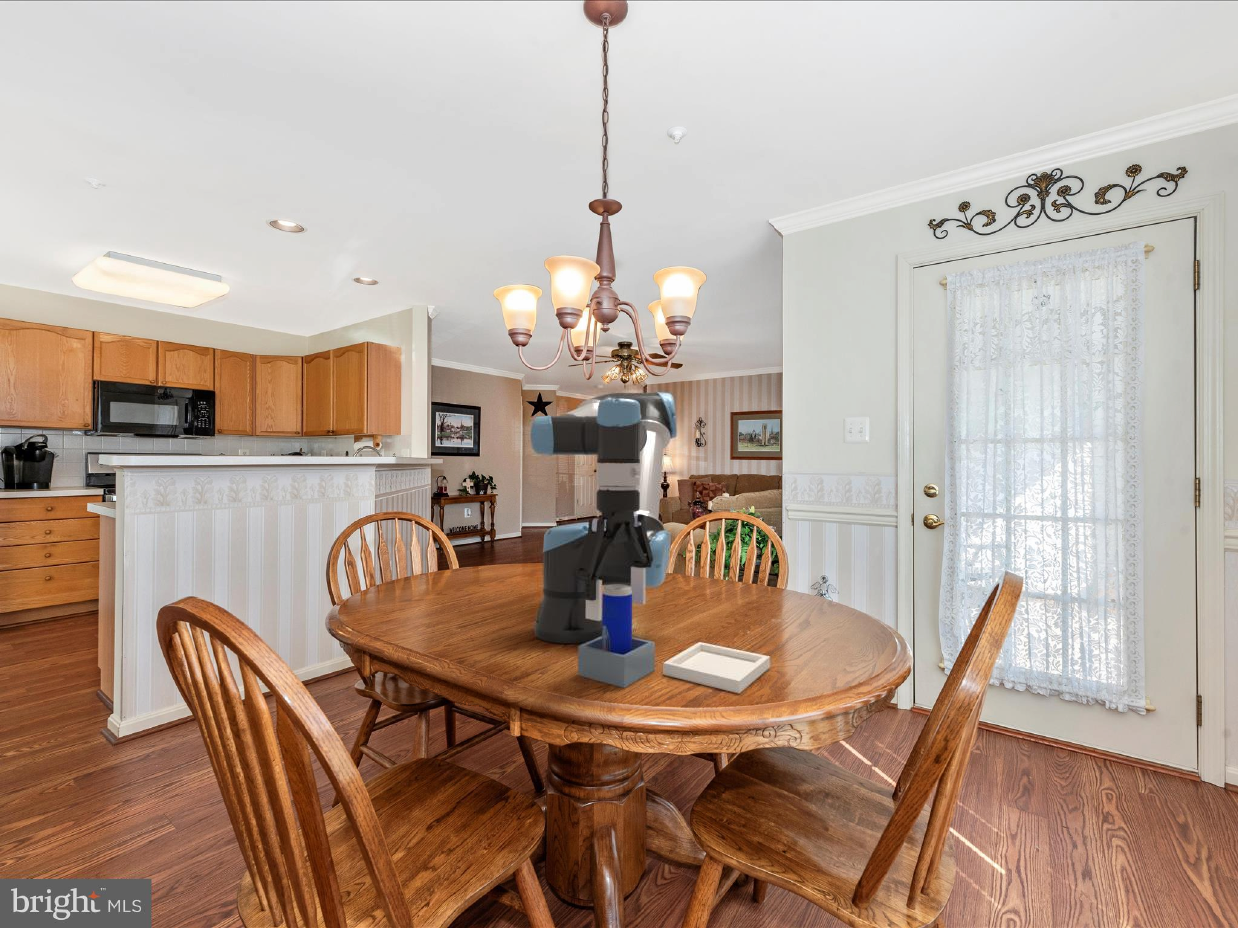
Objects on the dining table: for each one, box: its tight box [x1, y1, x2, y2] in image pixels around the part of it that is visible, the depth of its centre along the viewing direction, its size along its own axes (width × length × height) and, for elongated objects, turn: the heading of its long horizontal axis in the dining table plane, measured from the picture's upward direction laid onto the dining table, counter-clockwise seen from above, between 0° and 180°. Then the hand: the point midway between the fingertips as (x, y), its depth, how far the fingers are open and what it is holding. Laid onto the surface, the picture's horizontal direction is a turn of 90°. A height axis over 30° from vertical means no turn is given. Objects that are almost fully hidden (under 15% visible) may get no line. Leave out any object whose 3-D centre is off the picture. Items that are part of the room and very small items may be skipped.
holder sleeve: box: [577, 636, 656, 689], centre depth 100 cm, size 10×10×5 cm
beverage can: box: [602, 584, 633, 655], centre depth 100 cm, size 5×5×15 cm
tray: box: [662, 641, 771, 695], centre depth 101 cm, size 14×14×2 cm
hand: (617, 610), depth 100 cm, fingers open, 13 cm apart
